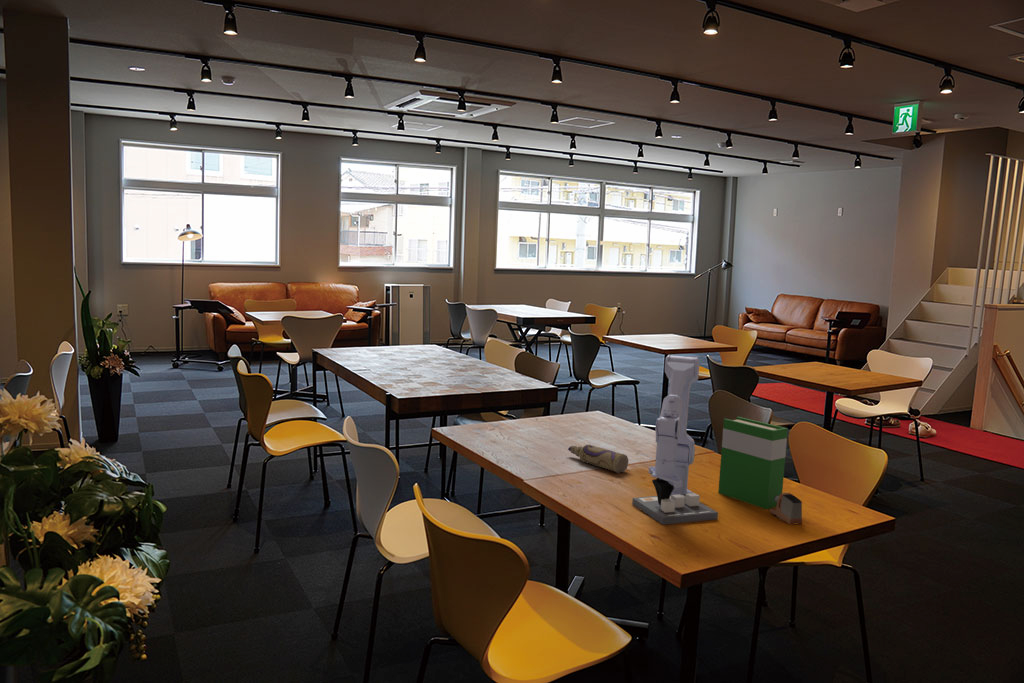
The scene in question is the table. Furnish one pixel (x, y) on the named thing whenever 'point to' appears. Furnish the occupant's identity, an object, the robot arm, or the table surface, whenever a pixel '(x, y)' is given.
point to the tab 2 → (692, 499)
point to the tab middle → (678, 500)
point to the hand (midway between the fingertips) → (662, 504)
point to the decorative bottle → (601, 457)
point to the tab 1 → (667, 505)
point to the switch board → (680, 514)
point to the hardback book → (752, 461)
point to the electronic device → (788, 508)
